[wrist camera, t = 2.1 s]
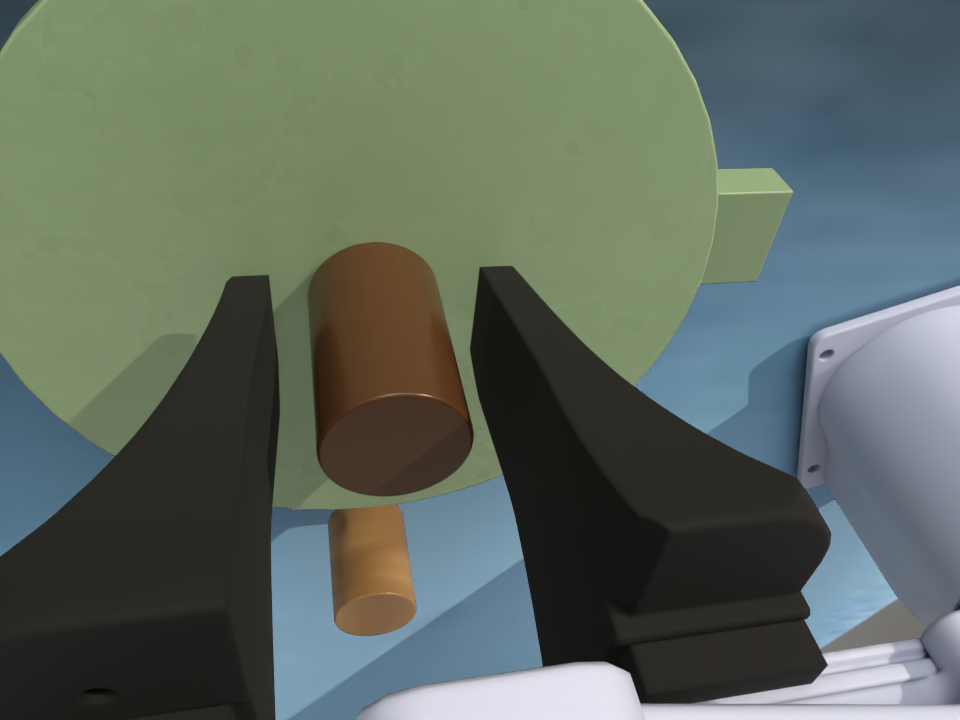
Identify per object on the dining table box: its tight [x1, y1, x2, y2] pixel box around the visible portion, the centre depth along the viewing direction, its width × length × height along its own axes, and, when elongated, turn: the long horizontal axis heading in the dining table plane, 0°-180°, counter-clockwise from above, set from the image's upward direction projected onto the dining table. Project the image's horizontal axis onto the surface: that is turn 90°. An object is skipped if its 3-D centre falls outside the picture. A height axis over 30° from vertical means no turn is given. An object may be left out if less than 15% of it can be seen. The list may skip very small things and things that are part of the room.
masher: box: [289, 504, 417, 636], centre depth 25 cm, size 5×4×6 cm
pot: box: [700, 168, 793, 284], centre depth 17 cm, size 12×18×6 cm
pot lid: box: [0, 0, 718, 509], centre depth 14 cm, size 13×13×5 cm
